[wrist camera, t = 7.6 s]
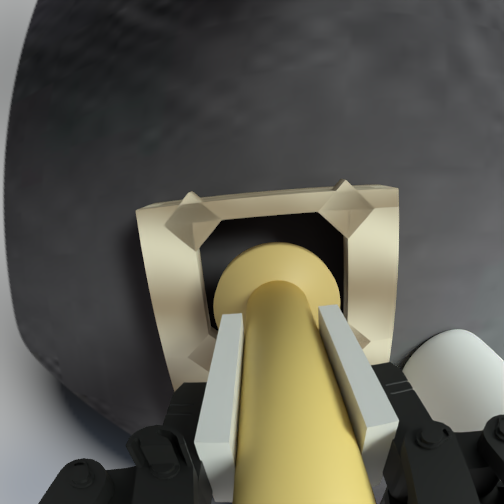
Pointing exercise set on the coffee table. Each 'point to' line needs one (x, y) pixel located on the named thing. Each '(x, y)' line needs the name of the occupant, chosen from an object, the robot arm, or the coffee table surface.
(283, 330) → the headed peg
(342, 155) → the coffee table surface
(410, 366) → the mug
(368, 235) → the keyhole board
